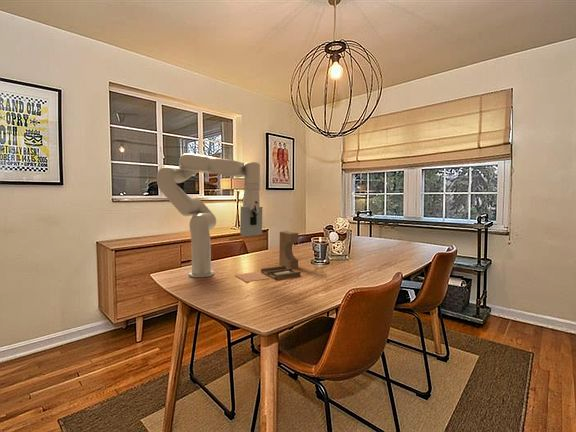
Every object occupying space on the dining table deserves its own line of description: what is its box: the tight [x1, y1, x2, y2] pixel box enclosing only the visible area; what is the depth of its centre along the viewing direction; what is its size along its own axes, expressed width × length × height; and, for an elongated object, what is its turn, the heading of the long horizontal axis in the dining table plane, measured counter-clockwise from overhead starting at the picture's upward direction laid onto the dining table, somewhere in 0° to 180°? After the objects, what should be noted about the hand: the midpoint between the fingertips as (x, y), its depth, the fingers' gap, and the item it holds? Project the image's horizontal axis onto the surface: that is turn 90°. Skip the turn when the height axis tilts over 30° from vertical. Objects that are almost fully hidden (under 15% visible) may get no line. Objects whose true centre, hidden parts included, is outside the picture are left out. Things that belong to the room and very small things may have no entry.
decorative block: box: [278, 230, 299, 270], centre depth 182 cm, size 11×6×20 cm, turn 38°
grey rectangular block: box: [239, 206, 263, 237], centre depth 158 cm, size 4×10×14 cm, turn 122°
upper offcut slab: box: [273, 271, 292, 276], centre depth 162 cm, size 5×9×1 cm, turn 124°
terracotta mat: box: [234, 271, 270, 284], centre depth 160 cm, size 14×12×1 cm
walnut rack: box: [260, 265, 301, 281], centre depth 165 cm, size 15×15×2 cm
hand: (251, 224), depth 159 cm, fingers closed on grey rectangular block, 4 cm apart
